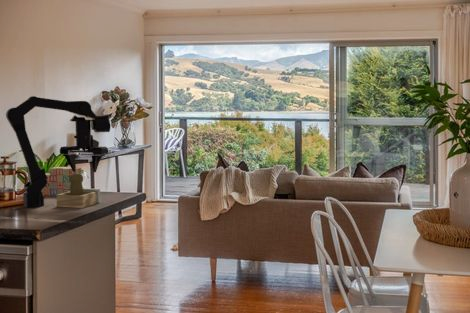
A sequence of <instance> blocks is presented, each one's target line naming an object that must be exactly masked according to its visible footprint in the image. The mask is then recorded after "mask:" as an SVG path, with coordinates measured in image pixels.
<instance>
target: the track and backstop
mask: <svg viewBox="0 0 470 313" xmlns="http://www.w3.org/2000/svg"><path fill="white" fill-rule="evenodd" d="M83 191H89V192H97V203H96V204H100V203H101V189H100V188H87V187H86V188H83Z"/></svg>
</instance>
